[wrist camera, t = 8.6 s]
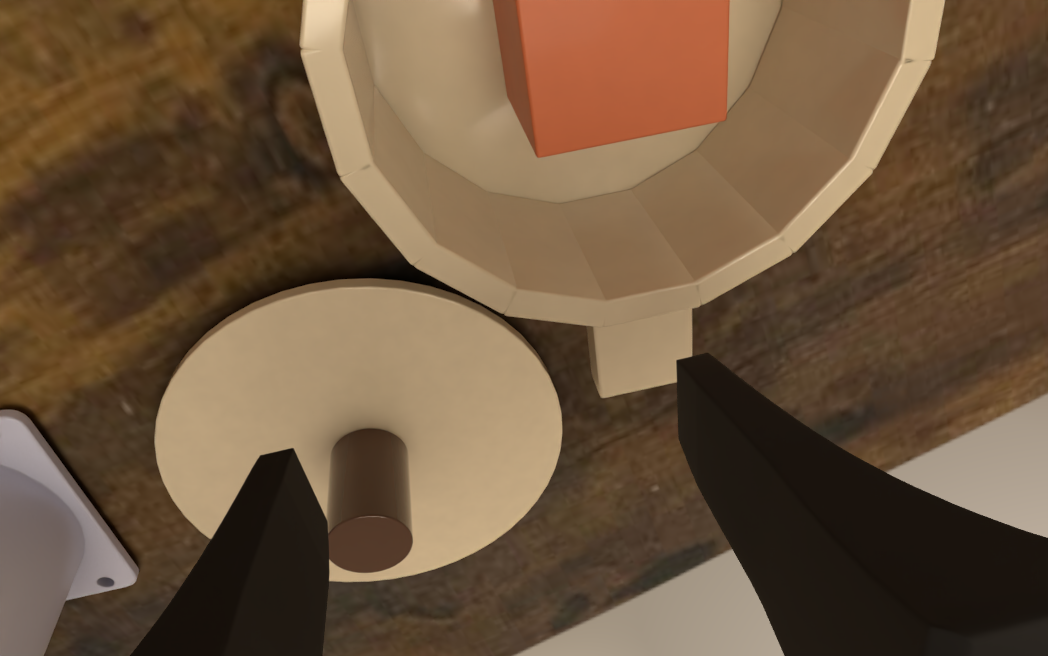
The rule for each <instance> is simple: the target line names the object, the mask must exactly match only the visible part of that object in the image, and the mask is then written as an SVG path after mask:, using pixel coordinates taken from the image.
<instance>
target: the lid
mask: <svg viewBox="0 0 1048 656" xmlns="http://www.w3.org/2000/svg"><path fill="white" fill-rule="evenodd" d="M562 433H563V429H562V412H561V408H560V404H559V400H558V395H557V392H556V389H555V386H554V384H553V381H552V379H551V377H550V374H549V372H548V370H547V368H546V366H545V365H544V363H543V361H542V360H541V358H540V357H539V355H538V354H537V352H536V351H535V349H534V348H533V347H532V346H531V345H530V344H529V343H528V342H527V341H526V339H525V338H524V337H523V336H522V335H521V334H520V333H519V332H518V331H516V330H515V329H514V328H513V327H512V326H510V325H509V324H508V323H507V322H506V321H504V320H503V319H502V318H500V317H499V316H497V315H495V314H494V313H492V312H490V311H489V310H487V309H486V308H484V307H482V306H481V305H479V304H477V303H474V302H472V301H470V300H468V299H466V298H463V297H461V296H459V295H457V294H454V293H451V292H447V291H444V290H441V289H438V288H435V287H431V286H427V285H422V284H417V283H412V282H406V281H401V280H388V279H375V278H362V279H339V280H332V281H325V282H319V283H312V284H307V285H304V286H300V287H296V288H292V289H289V290H285V291H281V292H279V293H276V294H274V295H271V296H269V297H266V298H264V299H261V300H259V301H256V302H254V303H252V304H250V305H248V306H246V307H245V308H243V309H241V310H239V311H237V312H236V313H234V314H232V315H230V316H228V317H227V318H226V319H224V320H223V321H222V322H220V323H219V324H218V325H216V326H215V327H214V328H212V329H211V330H210V331H208V332H207V333H206V334H205V335H204V336H203V337H202V338H201V339H200V340H199V341H198V342H197V343H196V344H195V345H194V346H193V347H192V348H191V349H190V350H189V351H188V352H187V354H186V355H185V357H184V358H183V359H182V361H181V362H180V363H179V365H178V366H177V368H176V369H175V370H174V373H173V375H172V377H171V379H170V381H169V383H168V385H167V387H166V389H165V391H164V394H163V397H162V399H161V403H160V407H159V410H158V414H157V417H156V424H155V437H154V443H155V452H156V461H157V464H158V467H159V471H160V474H161V477H162V480H163V483H164V485H165V487H166V488H167V490H168V492H169V494H170V496H171V498H172V500H173V501H174V503H175V504H176V505H177V507H178V508H179V509H180V511H181V512H182V513H183V515H184V516H185V517H186V518H187V519H188V520H189V521H190V522H191V523H192V524H193V525H194V526H195V527H196V528H197V529H198V530H199V531H200V532H201V533H203V534H204V535H205V536H207V537H208V538H209V539H212V537H213V535H214V534H215V532H216V530H217V529H218V527H219V525H220V524H221V522H222V520H223V519H224V517H225V515H226V514H227V512H228V510H229V508H230V507H231V505H232V503H233V501H234V500H235V498H236V496H237V494H238V492H239V491H240V489H241V487H242V485H243V483H244V482H245V480H246V478H247V476H248V475H249V473H250V471H251V469H252V467H253V466H254V464H255V462H256V461H257V459H258V458H259V456H260V455H264V454H268V453H273V452H277V451H281V450H286V449H290V448H294V450H295V452H296V454H297V457H298V459H299V461H300V463H301V465H302V467H303V470H304V472H305V474H306V476H307V478H308V480H309V482H310V485H311V487H312V489H313V491H314V493H315V495H316V497H317V500H318V502H319V504H320V506H321V508H322V510H323V513H324V515H325V517H326V519H327V521H328V540H329V571H330V574H329V581H338V582H367V581H378V580H388V579H395V578H400V577H405V576H411V575H415V574H419V573H423V572H426V571H430V570H434V569H437V568H440V567H442V566H445V565H448V564H450V563H453V562H456V561H458V560H460V559H462V558H464V557H466V556H468V555H471V554H473V553H475V552H477V551H478V550H480V549H482V548H483V547H485V546H487V545H488V544H490V543H492V542H493V541H495V540H496V539H497V538H499V537H500V536H501V535H503V534H504V533H506V532H507V531H508V530H510V529H511V528H512V527H513V526H514V525H515V524H516V523H517V522H518V521H519V520H520V519H522V518H523V517H524V516H525V515H526V513H527V512H528V511H529V510H530V509H531V508H532V506H533V505H534V504H535V503H536V502H537V500H538V499H539V497H540V496H541V494H542V493H543V491H544V490H545V488H546V486H547V485H548V483H549V481H550V478H551V476H552V474H553V472H554V470H555V467H556V464H557V460H558V457H559V453H560V450H561V441H562Z"/></svg>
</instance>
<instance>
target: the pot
mask: <svg viewBox="0 0 1048 656" xmlns="http://www.w3.org/2000/svg"><path fill="white" fill-rule="evenodd" d="M944 4H945V0H730V9H729V48H728V88H727V119H726V120H725V121H722V122H717V123H712V124H707V125H702V126H697V127H692V128H687V129H682V130H677V131H672V132H667V133H662V134H657V135H652V136H647V137H642V138H637V139H632V140H627V141H622V142H617V143H612V144H607V145H602V146H597V147H592V148H587V149H582V150H577V151H572V152H567V153H562V154H557V155H552V156H547V157H542V158H538V157H537V156H536V155H535V153H534V150H533V148H532V146H531V144H530V142H529V140H528V138H527V136H526V134H525V132H524V130H523V128H522V126H521V124H520V122H519V120H518V118H517V116H516V114H515V111H514V109H513V107H512V105H511V103H510V101H509V99H508V97H507V91H506V85H505V78H504V71H503V65H502V58H501V52H500V45H499V39H498V32H497V26H496V19H495V12H494V6H493V0H303V4H302V16H301V27H300V39H299V45H300V48H301V52H300V55H301V58H302V61H303V65H304V68H305V71H306V74H307V78H308V81H309V84H310V87H311V90H312V94H313V97H314V100H315V103H316V107H317V110H318V113H319V116H320V120H321V123H322V126H323V129H324V133H325V136H326V139H327V142H328V145H329V149H330V152H331V155H332V158H333V162H334V165H335V168H336V171H337V173H338V175H339V176H340V180H341V181H342V182H343V184H344V185H345V186H346V187H347V188H348V190H349V191H350V192H351V193H352V195H353V196H354V197H355V198H356V199H357V201H358V202H359V203H360V204H361V205H362V207H363V208H364V209H365V210H366V211H367V213H368V214H369V215H370V216H371V217H372V219H373V220H374V221H375V222H376V224H377V225H378V226H379V227H380V228H381V230H382V231H383V232H384V233H385V234H386V236H387V237H388V238H389V239H390V240H391V242H392V243H393V244H394V245H395V246H396V248H397V249H398V250H399V251H400V252H401V254H402V255H403V256H404V257H405V259H406V260H407V261H408V262H409V263H410V264H411V265H414V267H415V268H417V269H419V270H421V271H422V272H424V273H426V274H428V275H430V276H432V277H434V278H436V279H437V280H439V281H441V282H443V283H445V284H447V285H449V286H451V287H452V288H454V289H456V290H458V291H460V292H462V293H464V294H466V295H467V296H469V297H471V298H473V299H475V300H477V301H479V302H480V303H482V304H484V305H486V306H488V307H490V308H492V309H494V310H495V311H497V312H499V313H502V314H503V313H504V315H505V316H511V317H519V318H527V319H536V320H544V321H552V322H560V323H568V324H576V325H584V326H587V335H588V345H589V354H590V363H591V372H592V377H593V379H594V382H595V385H596V387H597V390H598V392H599V395H600V396H601V398H607V397H612V396H616V395H621V394H625V393H630V392H634V391H639V390H643V389H648V388H653V387H657V386H662V385H666V384H671V383H675V382H677V369H676V360H679V359H683V358H687V357H692V308H696V307H699V306H700V305H704V304H706V303H708V302H709V301H711V300H713V299H715V298H716V297H718V296H720V295H722V294H724V293H725V292H727V291H729V290H731V289H732V288H734V287H736V286H738V285H739V284H741V283H743V282H745V281H746V280H748V279H750V278H752V277H754V276H755V275H757V274H759V273H761V272H762V271H764V270H766V269H768V268H769V267H771V266H773V265H775V264H777V263H778V262H780V261H782V260H784V259H785V258H787V257H789V256H791V255H792V252H796V251H797V250H798V249H799V248H800V247H801V246H802V245H803V244H804V243H805V242H806V241H807V240H808V239H809V238H810V237H811V236H812V235H813V234H814V233H815V232H816V231H817V230H818V229H819V228H820V227H821V226H822V225H823V224H824V222H825V221H826V220H827V219H828V218H829V217H830V216H831V215H832V214H833V213H834V212H835V211H836V210H837V209H838V208H839V207H840V206H841V205H842V204H843V203H844V202H845V201H846V200H847V199H848V198H849V197H850V196H851V195H852V194H853V193H854V192H855V191H856V190H857V189H858V188H859V187H860V185H861V184H862V183H863V182H864V181H865V180H866V179H867V178H868V177H869V176H870V175H871V174H872V173H873V170H872V169H875V168H876V167H877V165H878V163H879V161H880V159H881V157H882V155H883V153H884V152H885V150H886V148H887V146H888V144H889V142H890V140H891V138H892V137H893V135H894V133H895V131H896V129H897V127H898V125H899V123H900V121H901V120H902V118H903V116H904V114H905V112H906V110H907V108H908V106H909V105H910V103H911V101H912V99H913V97H914V95H915V93H916V91H917V89H918V88H919V86H920V84H921V82H922V80H923V78H924V76H925V74H926V72H927V71H928V69H929V67H930V65H931V60H933V59H934V57H935V52H936V46H937V41H938V36H939V30H940V25H941V20H942V14H943V9H944Z"/></svg>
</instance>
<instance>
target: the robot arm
mask: <svg viewBox="0 0 1048 656" xmlns="http://www.w3.org/2000/svg"><path fill="white" fill-rule="evenodd" d="M676 369H677V402H678V434H679V441H680V443H681V446H682V449H683V451H684V454H685V456H686V459H687V461H688V464H689V466H690V469H691V471H692V474H693V476H694V478H695V481H696V483H697V486H698V487H699V489H700V491H701V493H702V495H703V497H704V499H705V500H706V502H707V504H708V506H709V508H710V509H711V511H712V513H713V515H714V517H715V519H716V520H717V522H718V524H719V526H720V528H721V529H722V531H723V533H724V535H725V536H726V538H727V540H728V542H729V544H730V545H731V547H732V549H733V551H734V553H735V554H736V556H737V558H738V560H739V562H740V563H741V565H742V567H743V569H744V570H745V572H746V574H747V576H748V578H749V579H750V581H751V583H752V585H753V587H754V589H755V591H756V593H757V595H758V597H759V599H760V601H761V603H762V605H763V607H764V609H765V611H766V614H767V616H768V618H769V621H770V623H771V626H772V628H773V630H774V632H775V635H776V637H777V639H778V642H779V644H780V646H781V648H782V651H783V653H784V655H785V656H1048V538H1046V537H1043V536H1040V535H1036V534H1033V533H1030V532H1026V531H1024V530H1021V529H1018V528H1015V527H1012V526H1010V525H1007V524H1004V523H1001V522H999V521H996V520H993V519H991V518H988V517H985V516H983V515H980V514H977V513H975V512H972V511H970V510H967V509H965V508H962V507H960V506H957V505H955V504H952V503H950V502H948V501H945V500H943V499H941V498H939V497H936V496H934V495H932V494H930V493H927V492H925V491H923V490H921V489H918V488H916V487H914V486H912V485H910V484H907V483H906V482H903V481H901V480H899V479H897V478H895V477H893V476H891V475H889V474H887V473H886V472H884V471H882V470H880V469H878V468H876V467H874V466H872V465H870V464H869V463H867V462H865V461H863V460H861V459H859V458H857V457H856V456H854V455H852V454H850V453H849V452H847V451H845V450H843V449H842V448H840V447H838V446H837V445H835V444H834V443H832V442H830V441H829V440H827V439H826V438H824V437H823V436H821V435H819V434H818V433H816V432H815V431H813V430H812V429H810V428H809V427H807V426H806V425H804V424H803V423H801V422H800V421H798V420H797V419H795V418H794V417H793V416H791V415H790V414H788V413H787V412H786V411H784V410H783V409H781V408H780V407H778V406H777V405H776V404H774V403H773V402H771V401H770V400H769V399H767V398H766V397H765V396H763V395H762V394H761V393H759V392H758V391H757V390H755V389H754V388H753V387H751V386H750V385H749V384H748V383H746V382H745V381H744V380H742V379H741V378H740V377H738V376H737V375H736V374H735V373H733V372H732V371H731V370H730V369H728V368H727V367H726V366H725V365H723V364H722V363H721V362H719V361H718V360H717V359H716V358H714V357H713V356H711V355H710V354H709V353H705V354H700V355H696V356H692V357H687V358H683V359H679V360H676ZM138 573H139V569H138V567H137V565H136V564H135V563H134V561H133V560H132V558H131V557H130V556H129V554H128V553H127V552H126V550H125V549H124V547H123V546H122V545H121V543H120V542H119V541H118V539H117V538H116V536H115V535H114V534H113V532H112V531H111V530H110V528H109V527H108V525H107V524H106V523H105V521H104V520H103V519H102V517H101V516H100V514H99V513H98V512H97V510H96V509H95V508H94V506H93V505H92V503H91V502H90V501H89V499H88V498H87V497H86V495H85V494H84V492H83V491H82V490H81V488H80V487H79V486H78V484H77V483H76V481H75V480H74V479H73V477H72V476H71V475H70V473H69V472H68V470H67V469H66V468H65V466H64V465H63V464H62V462H61V461H60V459H59V458H58V457H57V455H56V454H55V453H54V451H53V450H52V448H51V447H50V446H49V444H48V443H47V442H46V440H45V439H44V437H43V436H42V435H41V433H40V432H39V431H38V429H37V428H36V426H35V425H34V424H33V422H32V421H31V420H30V418H29V417H27V416H26V415H25V414H24V413H21V412H19V411H16V410H11V409H8V410H0V656H44V654H45V651H46V649H47V646H48V644H49V641H50V639H51V636H52V634H53V631H54V629H55V626H56V623H57V621H58V618H59V616H60V613H61V611H62V608H63V606H64V603H65V601H66V600H70V599H75V598H79V597H84V596H88V595H92V594H97V593H101V592H106V591H110V590H115V589H119V588H123V587H127V586H130V585H133V584H134V583H135V582H136V579H137V576H138ZM329 574H330V571H329V540H328V521H327V519H326V517H325V515H324V513H323V510H322V508H321V506H320V504H319V502H318V500H317V497H316V495H315V493H314V491H313V489H312V487H311V485H310V482H309V480H308V478H307V476H306V474H305V472H304V470H303V467H302V465H301V463H300V461H299V459H298V457H297V454H296V452H295V450H294V448H290V449H286V450H281V451H277V452H273V453H268V454H264V455H260V456H259V458H258V459H257V461H256V462H255V464H254V466H253V467H252V469H251V471H250V473H249V475H248V476H247V478H246V480H245V482H244V483H243V485H242V487H241V489H240V491H239V492H238V494H237V496H236V498H235V500H234V501H233V503H232V505H231V507H230V508H229V510H228V512H227V514H226V515H225V517H224V519H223V520H222V522H221V524H220V525H219V527H218V529H217V530H216V532H215V534H214V535H213V537H212V539H211V540H210V542H209V544H208V545H207V547H206V549H205V550H204V552H203V554H202V555H201V557H200V558H199V560H198V562H197V563H196V565H195V566H194V568H193V569H192V571H191V572H190V574H189V575H188V577H187V578H186V580H185V581H184V583H183V584H182V586H181V587H180V589H179V590H178V592H177V593H176V595H175V596H174V598H173V599H172V601H171V602H170V603H169V605H168V606H167V608H166V609H165V610H164V612H163V613H162V615H161V616H160V617H159V619H158V620H157V622H156V623H155V624H154V626H153V627H152V628H151V630H150V631H149V632H148V633H147V635H146V636H145V637H144V639H143V640H142V641H141V642H140V644H139V645H138V646H137V648H136V649H135V650H134V651H133V653H132V654H131V655H130V656H322V652H323V642H324V631H325V621H326V610H327V598H328V587H329Z"/></svg>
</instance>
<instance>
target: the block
mask: <svg viewBox="0 0 1048 656" xmlns="http://www.w3.org/2000/svg"><path fill="white" fill-rule="evenodd" d="M493 6H494V12H495V19H496V26H497V32H498V39H499V45H500V52H501V58H502V65H503V71H504V78H505V85H506V91H507V97H508V99H509V101H510V103H511V105H512V107H513V109H514V111H515V114H516V116H517V118H518V120H519V122H520V124H521V126H522V128H523V130H524V132H525V134H526V136H527V138H528V140H529V142H530V144H531V146H532V148H533V150H534V153H535V155H536V156H537V157H538V158H542V157H547V156H552V155H557V154H562V153H567V152H572V151H577V150H582V149H587V148H592V147H597V146H602V145H607V144H612V143H617V142H622V141H627V140H632V139H637V138H642V137H647V136H652V135H657V134H662V133H667V132H672V131H677V130H682V129H687V128H692V127H697V126H702V125H707V124H712V123H717V122H722V121H725V120H726V119H727V88H728V48H729V9H730V0H493Z"/></svg>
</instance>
